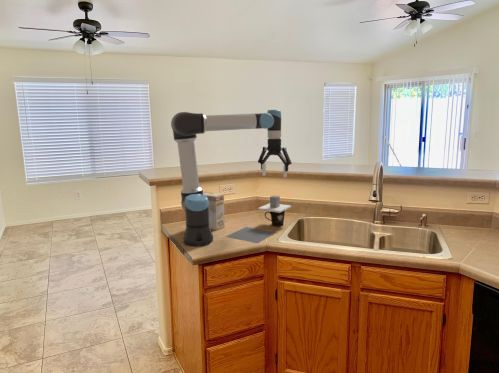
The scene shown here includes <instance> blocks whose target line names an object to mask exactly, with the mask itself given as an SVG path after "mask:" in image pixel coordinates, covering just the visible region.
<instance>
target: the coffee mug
mask: <svg viewBox="0 0 499 373" xmlns="http://www.w3.org/2000/svg"><path fill="white" fill-rule="evenodd" d="M285 213H286V210H285V211H283V212H281V213H278V212H271V211H266V212H265V213H264V217H265V218H266V219H267V220H268V221H270V222H271V226H274V227H283V226H284V221H285ZM267 214H270V218H271V219H270V218H268V217H267Z"/></svg>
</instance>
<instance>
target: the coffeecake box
mask: <svg viewBox="0 0 499 373" xmlns="http://www.w3.org/2000/svg"><path fill="white" fill-rule="evenodd" d="M203 195H205V196H207V198H208V201H209V226H210V229H211V230H213V231H219V230H222V229H225V227H226V226H225V224H226V223H225V222H226V221H225V199H224V198H225V196H224V194H222V193H215V192H209V191H203Z"/></svg>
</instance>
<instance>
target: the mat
mask: <svg viewBox="0 0 499 373" xmlns="http://www.w3.org/2000/svg"><path fill="white" fill-rule="evenodd" d="M277 233H278V232H277V231H272V230H267V229H261V228H257V227H256V228H255V227H250V226H249V227H248V226H245V227H242V228H241V229H239V230H237V231H234V232H232V233H230V234H228V235H225V238H230V239H235V240H241V241H245V242H249V243H256V244H259V243H261V242H262V241H265V240H267V238H270V237H271V236H273V235H275V234H277Z"/></svg>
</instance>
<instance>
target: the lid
mask: <svg viewBox="0 0 499 373" xmlns="http://www.w3.org/2000/svg"><path fill="white" fill-rule="evenodd" d="M291 208H292V205H290V204H289V205H288V204H283V203H281V202H280V196H279V195H271V196H269V203H267V204H264V205H262V206H260V207H257V210H258V211H263V212H264V211H266V212H270V211H271V212H278V213H281V212H283V211H285V212H286V211H287V210H289V209H291Z"/></svg>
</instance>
